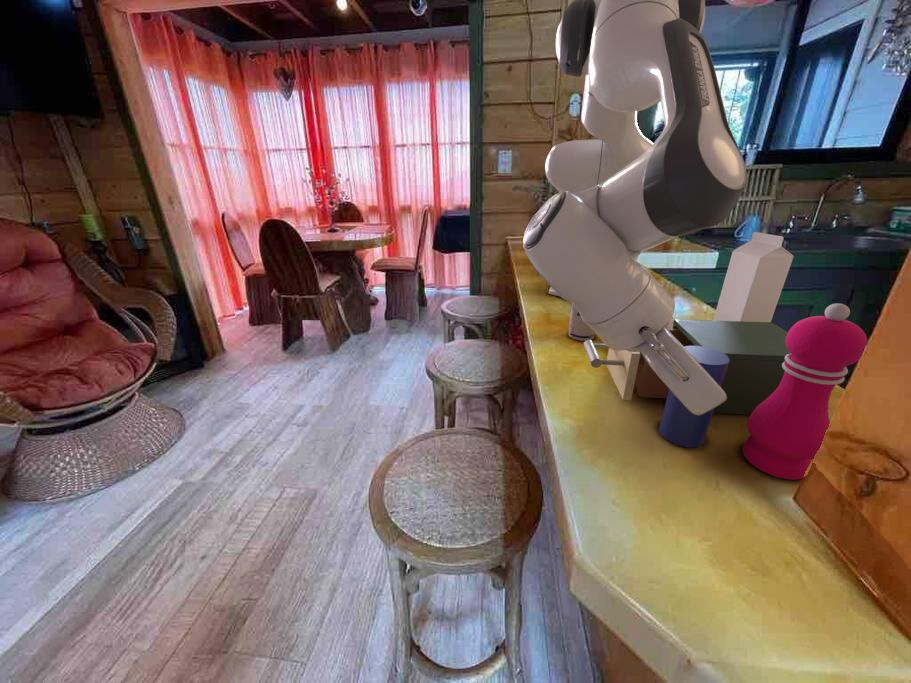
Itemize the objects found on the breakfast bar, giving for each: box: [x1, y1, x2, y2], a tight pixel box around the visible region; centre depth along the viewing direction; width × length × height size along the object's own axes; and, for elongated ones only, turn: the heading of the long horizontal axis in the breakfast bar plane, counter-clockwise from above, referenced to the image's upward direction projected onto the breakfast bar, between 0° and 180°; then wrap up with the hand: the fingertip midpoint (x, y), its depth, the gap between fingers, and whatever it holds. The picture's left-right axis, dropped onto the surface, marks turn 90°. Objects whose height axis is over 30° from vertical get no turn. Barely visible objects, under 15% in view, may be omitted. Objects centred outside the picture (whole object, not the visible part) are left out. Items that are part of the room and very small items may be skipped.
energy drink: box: [568, 304, 596, 342], centre depth 77 cm, size 5×5×12 cm
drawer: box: [582, 328, 695, 401], centre depth 59 cm, size 18×11×8 cm, turn 82°
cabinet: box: [672, 318, 790, 416], centre depth 57 cm, size 15×13×10 cm
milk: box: [712, 231, 794, 322], centre depth 67 cm, size 6×6×22 cm
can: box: [658, 346, 730, 449], centre depth 47 cm, size 5×5×12 cm
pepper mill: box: [742, 303, 868, 481], centre depth 41 cm, size 7×7×20 cm
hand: (699, 389), depth 47 cm, fingers closed on can, 5 cm apart
